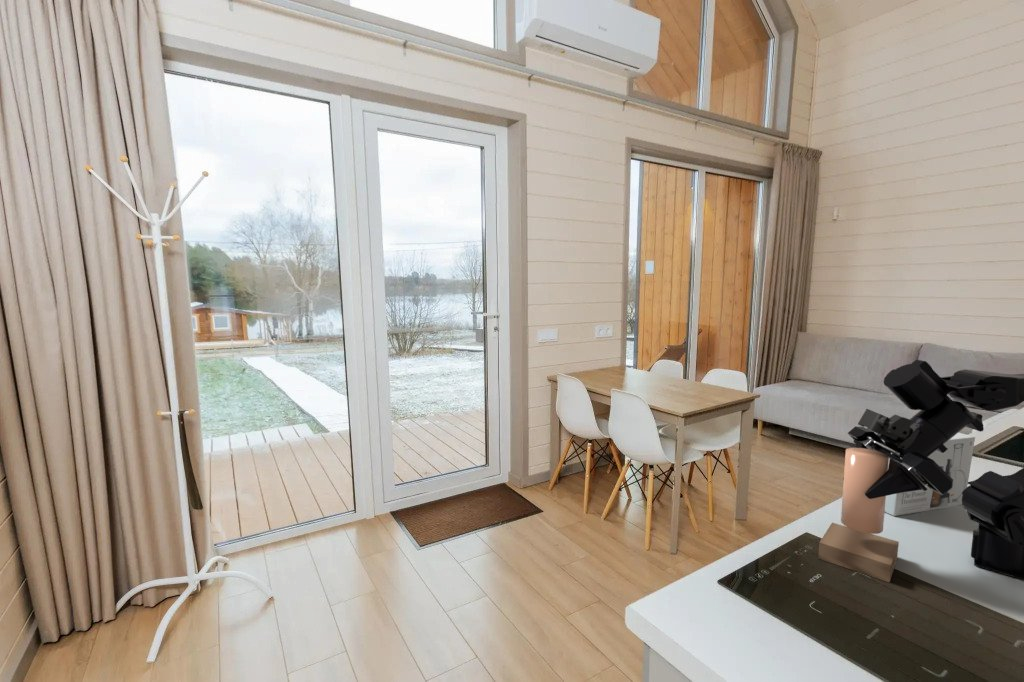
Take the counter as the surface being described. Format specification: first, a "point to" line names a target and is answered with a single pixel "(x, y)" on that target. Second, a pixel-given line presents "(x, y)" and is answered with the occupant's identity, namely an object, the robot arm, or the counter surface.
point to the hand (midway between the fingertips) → (855, 488)
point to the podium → (859, 551)
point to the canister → (863, 490)
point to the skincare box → (953, 464)
